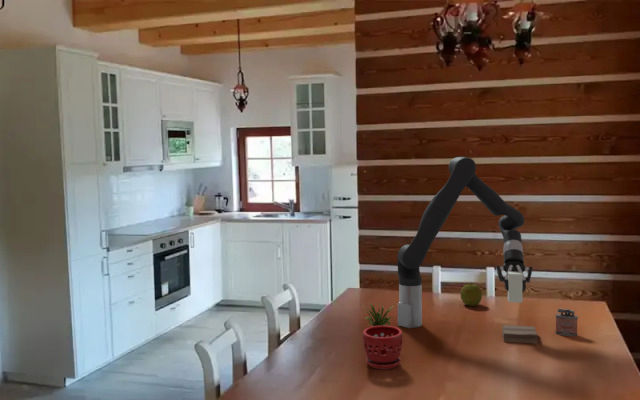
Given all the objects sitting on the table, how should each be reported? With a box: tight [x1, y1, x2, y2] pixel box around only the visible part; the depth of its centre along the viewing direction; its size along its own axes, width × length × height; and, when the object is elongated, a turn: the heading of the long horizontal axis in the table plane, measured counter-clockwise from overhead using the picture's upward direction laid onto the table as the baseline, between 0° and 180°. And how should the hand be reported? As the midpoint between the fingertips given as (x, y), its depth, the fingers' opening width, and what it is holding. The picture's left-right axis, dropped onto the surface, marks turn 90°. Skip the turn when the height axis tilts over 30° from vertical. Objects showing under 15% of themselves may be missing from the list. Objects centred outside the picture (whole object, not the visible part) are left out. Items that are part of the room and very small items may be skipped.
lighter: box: [554, 308, 579, 337], centre depth 237 cm, size 8×3×10 cm, turn 65°
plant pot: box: [362, 325, 403, 370], centre depth 206 cm, size 13×13×12 cm
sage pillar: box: [507, 272, 524, 304], centre depth 236 cm, size 5×5×11 cm
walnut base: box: [501, 324, 538, 344], centre depth 234 cm, size 12×12×3 cm
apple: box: [460, 281, 483, 307], centre depth 284 cm, size 10×10×11 cm
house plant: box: [360, 301, 396, 337], centre depth 228 cm, size 14×14×16 cm
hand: (515, 290), depth 235 cm, fingers closed on sage pillar, 5 cm apart
